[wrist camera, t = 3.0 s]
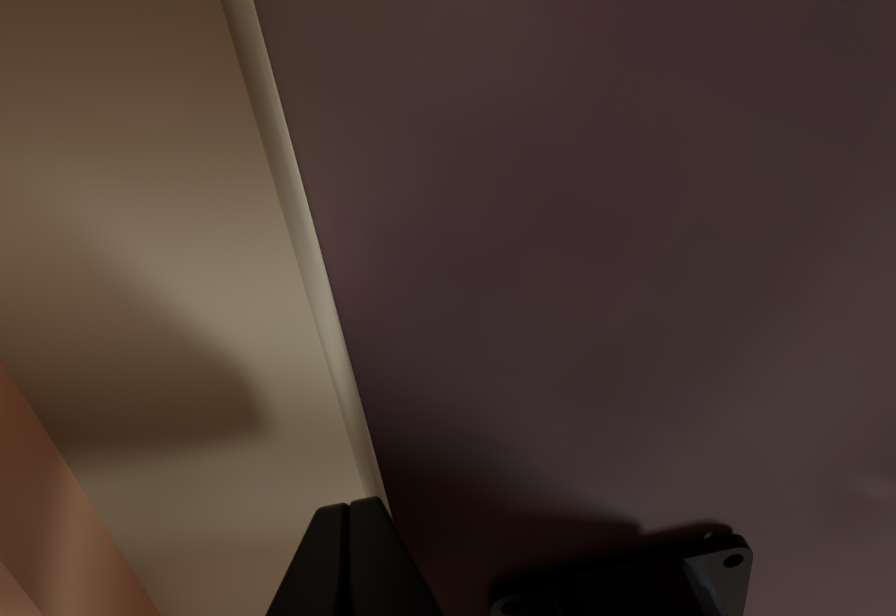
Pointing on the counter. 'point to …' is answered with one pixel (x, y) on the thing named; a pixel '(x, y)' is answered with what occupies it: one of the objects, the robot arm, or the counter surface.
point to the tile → (53, 529)
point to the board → (172, 292)
